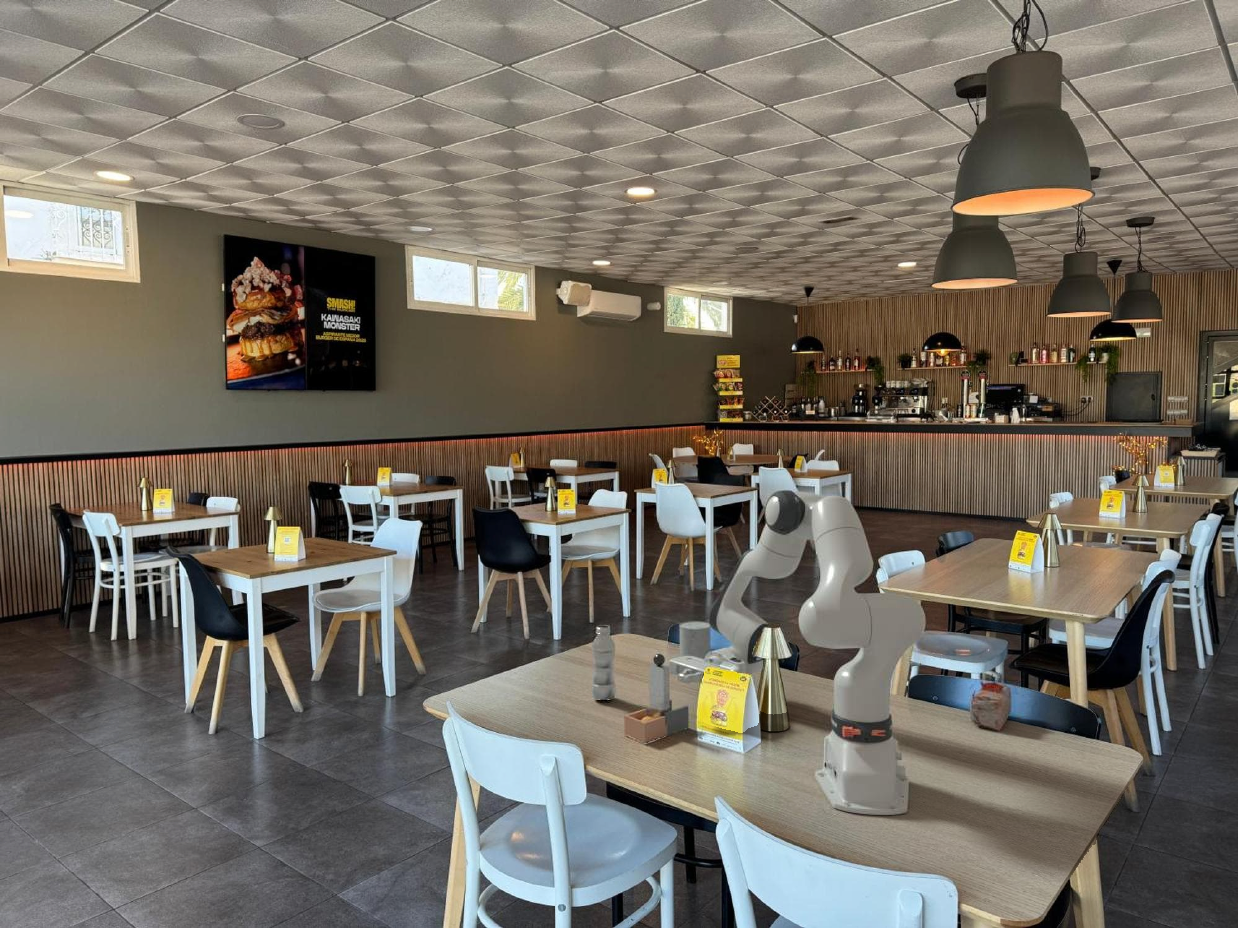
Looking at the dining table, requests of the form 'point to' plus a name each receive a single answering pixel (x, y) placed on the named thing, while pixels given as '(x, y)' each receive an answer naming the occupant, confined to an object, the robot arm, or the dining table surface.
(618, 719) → the dining table surface
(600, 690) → the plastic bottle
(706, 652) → the grey cylinder
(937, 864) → the dining table surface
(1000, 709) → the food item
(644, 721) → the ball
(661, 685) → the grey upright post
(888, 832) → the dining table surface
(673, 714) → the launcher
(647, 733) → the cup
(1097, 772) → the dining table surface
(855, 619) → the robot arm
